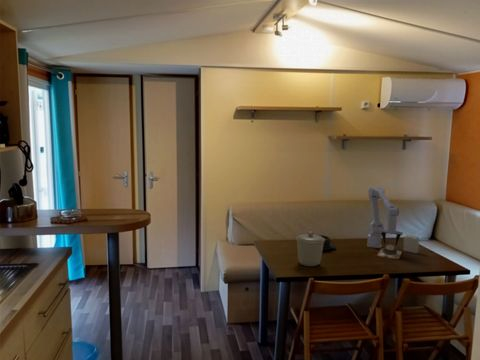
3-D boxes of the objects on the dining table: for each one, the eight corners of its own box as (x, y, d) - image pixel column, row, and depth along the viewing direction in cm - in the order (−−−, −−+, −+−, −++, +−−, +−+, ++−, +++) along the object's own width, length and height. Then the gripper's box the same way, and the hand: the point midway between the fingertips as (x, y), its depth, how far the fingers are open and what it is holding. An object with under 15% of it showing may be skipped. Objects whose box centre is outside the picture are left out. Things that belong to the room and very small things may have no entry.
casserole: (307, 253, 286) (307, 241, 285) (297, 245, 304) (297, 234, 302) (340, 251, 291) (341, 240, 290) (328, 244, 309) (329, 233, 308)
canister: (317, 259, 273) (319, 227, 270) (328, 268, 255) (329, 234, 253) (291, 259, 270) (292, 228, 267) (300, 269, 252) (301, 235, 249)
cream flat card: (377, 256, 283) (377, 250, 282) (381, 249, 299) (381, 244, 298) (398, 259, 276) (399, 253, 276) (401, 252, 292) (402, 247, 292)
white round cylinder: (385, 253, 286) (386, 245, 286) (386, 251, 291) (387, 244, 290) (393, 254, 284) (393, 246, 283) (394, 252, 288) (394, 245, 288)
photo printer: (402, 250, 298) (403, 233, 296) (405, 249, 301) (406, 232, 299) (415, 253, 290) (417, 236, 288) (418, 252, 293) (420, 235, 291)
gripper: (379, 224, 285) (378, 243, 286) (402, 227, 278) (400, 247, 280) (381, 222, 291) (380, 241, 293) (403, 225, 284) (402, 244, 286)
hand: (390, 244), depth 287 cm, fingers open, 7 cm apart
